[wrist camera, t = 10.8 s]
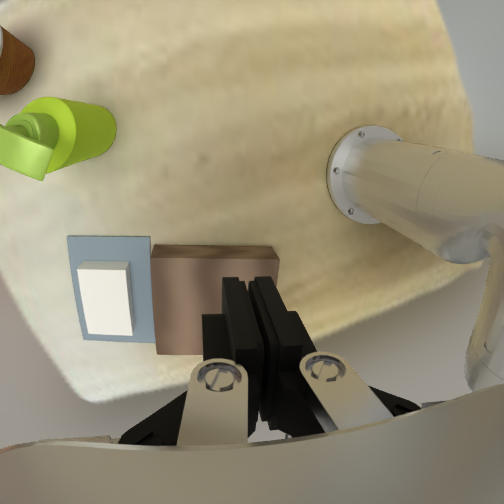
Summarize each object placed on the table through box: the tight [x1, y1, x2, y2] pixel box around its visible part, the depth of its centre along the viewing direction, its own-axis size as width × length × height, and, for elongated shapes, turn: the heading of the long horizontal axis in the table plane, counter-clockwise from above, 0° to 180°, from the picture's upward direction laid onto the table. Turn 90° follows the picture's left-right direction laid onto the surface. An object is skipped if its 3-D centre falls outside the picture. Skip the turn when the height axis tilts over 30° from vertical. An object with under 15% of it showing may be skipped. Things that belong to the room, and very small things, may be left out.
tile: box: [77, 261, 135, 336], centre depth 37 cm, size 6×9×2 cm, turn 176°
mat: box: [67, 236, 156, 343], centre depth 38 cm, size 10×15×1 cm
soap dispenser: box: [0, 97, 116, 181], centre depth 22 cm, size 6×7×20 cm
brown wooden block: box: [150, 245, 280, 355], centre depth 39 cm, size 14×13×4 cm
